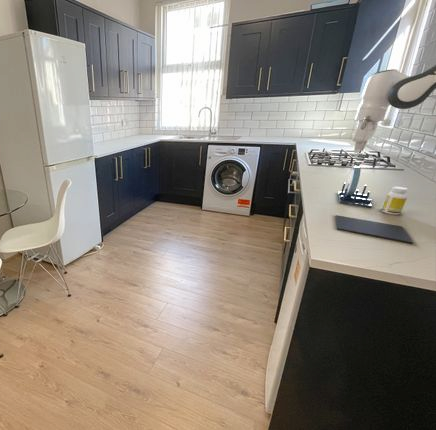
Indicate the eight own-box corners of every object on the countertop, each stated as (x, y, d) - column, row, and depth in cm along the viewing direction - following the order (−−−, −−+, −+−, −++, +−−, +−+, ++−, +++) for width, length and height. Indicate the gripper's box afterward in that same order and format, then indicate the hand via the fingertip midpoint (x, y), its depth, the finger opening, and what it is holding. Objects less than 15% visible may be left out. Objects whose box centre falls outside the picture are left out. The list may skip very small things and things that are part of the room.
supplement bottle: (404, 214, 105) (414, 189, 101) (392, 215, 104) (402, 190, 100) (388, 209, 110) (398, 185, 106) (377, 210, 109) (386, 186, 105)
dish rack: (365, 197, 124) (370, 184, 121) (370, 208, 111) (376, 193, 109) (337, 193, 129) (341, 181, 127) (339, 203, 117) (343, 189, 114)
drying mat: (401, 228, 94) (402, 226, 94) (411, 244, 83) (412, 242, 83) (335, 216, 103) (335, 215, 103) (336, 229, 93) (337, 228, 92)
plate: (349, 192, 125) (358, 164, 120) (352, 200, 115) (362, 169, 110) (343, 192, 126) (352, 163, 122) (346, 199, 116) (355, 168, 111)
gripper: (376, 117, 102) (364, 155, 107) (383, 115, 115) (372, 149, 120) (354, 116, 106) (343, 153, 111) (363, 115, 119) (353, 148, 124)
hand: (358, 151), depth 116 cm, fingers open, 8 cm apart
